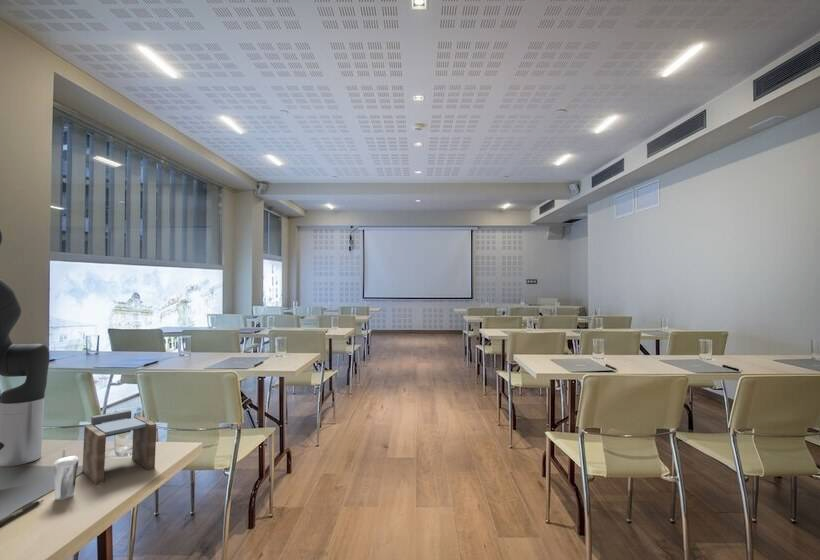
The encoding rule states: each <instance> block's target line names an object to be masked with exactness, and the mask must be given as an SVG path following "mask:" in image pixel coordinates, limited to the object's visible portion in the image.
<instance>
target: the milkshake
mask: <svg viewBox="0 0 820 560" xmlns="http://www.w3.org/2000/svg"><path fill="white" fill-rule="evenodd" d="M61 453H62V458H58V459H56V460H55V462H53V465H52V466H53V477H54V498H55V500H56V501H63V500H67V499H70V498H72V497H73V496H74V494H75V488H76V480H77V471H78V468H79V461H80V459H79V457H78V456H77V455H68V456H66V450H62V452H61Z"/></svg>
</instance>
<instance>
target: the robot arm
mask: <svg viewBox="0 0 820 560" xmlns="http://www.w3.org/2000/svg"><path fill="white" fill-rule="evenodd" d="M2 242H3V233H2V231H1V229H0V246H1V244H2ZM21 313H22V309H21V305H20V302H19V300H18V298H17V296H16V294H15V291H14V290H13V288H12V287H11V286H10V285H9V284H8V283H7V282H6V281H5V280H4V279H2V278H1V277H0V376H2V377H6V378H7V377H8V378H10V377H11V378H12V377H25V381H24V383H22V384H20V385H17V386H16V387H12V388H10V389H7V390H5V391H3V392H1V393H0V467H3V468H4V467H5V468H7V467H8V468H9V467H15V466H20V465H26V464H29V463H31V462H34V461H36V460H38V459H40V458H41V457H42V447H43V429H44V413H45V412H44V411H45V394H46V389H47V382H48V374H49V373H48V372H49V365H50V350H49V348H48V346H47V345H46V344H44V343H21V344H20V343H13V341H12V340H11V338H10V334H11V332H12V330H13V328H14V327H15V326H16V324H17V322H18V321H19V319H20V318H21Z"/></svg>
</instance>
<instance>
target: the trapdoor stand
mask: <svg viewBox="0 0 820 560" xmlns="http://www.w3.org/2000/svg"><path fill="white" fill-rule="evenodd" d="M133 418H136V419H138V420H140V421H142V422H144V423H146V427H143V428H138V429H134V430H129V431H132V450H131V451H132V452H131V458H132V459H133V461H135V462H137V463H139V465H141V466H143V468H145V469H147V471H150V470H152V469H155V467H156V446H157V442H156V441H157V423H156V422H154V421H151V420H150V419H148V418H146V417H144V416H142V415H135V416H133ZM83 432H84V433H83V449H82V450H83V453H82V469H81V470H82V472H83V473H84V474H85V475H86V476H87V477H88V478H89V479H90V480H91V481H92V482H93V483H94V484H95V485H100V484H101V485H102V484H104V482H105V464H106V445H107V444H106V442H107V437H106V436H107V435H106V434H105V433H103V432H102V431H100V430H99V429H97V428H96V427H94V426H93V425H92V424H91V423H90V424H86V425H84V430H83ZM124 432H126V431H124ZM119 433H121V432H119ZM115 434H117V433H115ZM110 435H112V434H110Z"/></svg>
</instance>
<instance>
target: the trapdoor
mask: <svg viewBox="0 0 820 560" xmlns="http://www.w3.org/2000/svg"><path fill="white" fill-rule="evenodd" d="M91 424H92V425H93V426H94V427H96V428H97V429H99V430H100V431H102V432H103V433H105V434H106V435H107V436H106V438H108V437H113V436H117V435H123V434H126V433H131V431H133V430H134V429H138V428H143V427H146V423H144V422H142V421H140V420H138V419H136V418H134V417H132V410H130V409H125V410H121V411H115V412H110V413H104V414H97V415H93V416H91V418H90V425H91ZM129 430H131V431H129ZM124 431H126V432H124ZM119 432H121V433H119ZM115 433H117V434H115ZM110 434H112V435H110Z"/></svg>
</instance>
